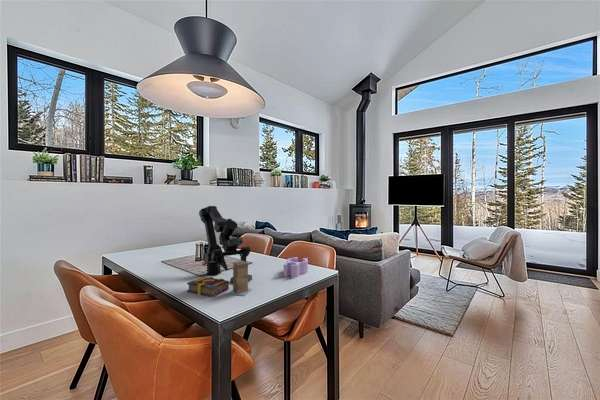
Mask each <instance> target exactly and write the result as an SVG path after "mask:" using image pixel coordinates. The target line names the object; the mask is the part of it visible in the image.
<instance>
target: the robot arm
mask: <svg viewBox="0 0 600 400" xmlns="http://www.w3.org/2000/svg"><path fill="white" fill-rule="evenodd" d="M198 216H199V218H200V221H201V222H202V223H203V224H204V227H205V228H204V229H205V232H206V233H205V234H206V238H207V239H206V240H207V246H208V247H207V251H206V254H205V257H204V263H205V264H206V273H205V275H207V276H217V275H219V274H222V271H221V267H222V268H223V269H224V270H225V271H228V269H229V267H228V265H227V262H226V259H225V257H227V256H229V257H230V256H237V255H239V256H240V261H245V262H247V257H248V256H249V255H250V253H251V251H252V249H251V247H250V246H249V245H248V246H247V245H246V246H242V247H241V248H240V249H238V248H239V246H241V245H242V244H243V243H244V240H243V239H244V238H243V237H242V236H238V237H237V238H233V235H234V234H235V232H236V230H237V228H238V223H237V222H236V221H235V220H232V218H227V219H226V218H225V217H223V216H222V215H221V213H220V212H219V210H218V207H217V206H216V205H207V206H206V207H203V208H201V209H200V210H199V212H198ZM216 233H219V237H218V240H220V242H221V245H218V242H217V237H216V236H217V235H216Z"/></svg>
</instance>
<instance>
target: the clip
mask: <svg viewBox="0 0 600 400" xmlns="http://www.w3.org/2000/svg"><path fill="white" fill-rule="evenodd" d="M308 259H309V258H308V257H304V258H302V261H299V257H298V256H294V257H290V258H287V259H286V261H285V262H283V277H284V278H287V277H288V275H290V278H291V279H297V278H298V277H299V276H301V275H305V274H308V273H309V260H308Z"/></svg>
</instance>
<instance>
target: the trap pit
mask: <svg viewBox="0 0 600 400" xmlns="http://www.w3.org/2000/svg"><path fill="white" fill-rule="evenodd" d="M252 280H253V274H248V283H249V282H251V281H252ZM230 284H233V276H232V277H230Z"/></svg>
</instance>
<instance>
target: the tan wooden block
mask: <svg viewBox="0 0 600 400" xmlns="http://www.w3.org/2000/svg"><path fill="white" fill-rule="evenodd" d="M248 275H249V262H247V261H246V262H245V261H241V260H239V261H234V262H232V277H233V283H232V290H233V291H235V292H236V293H242V292H247V291H248V288H249V282H248Z"/></svg>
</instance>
